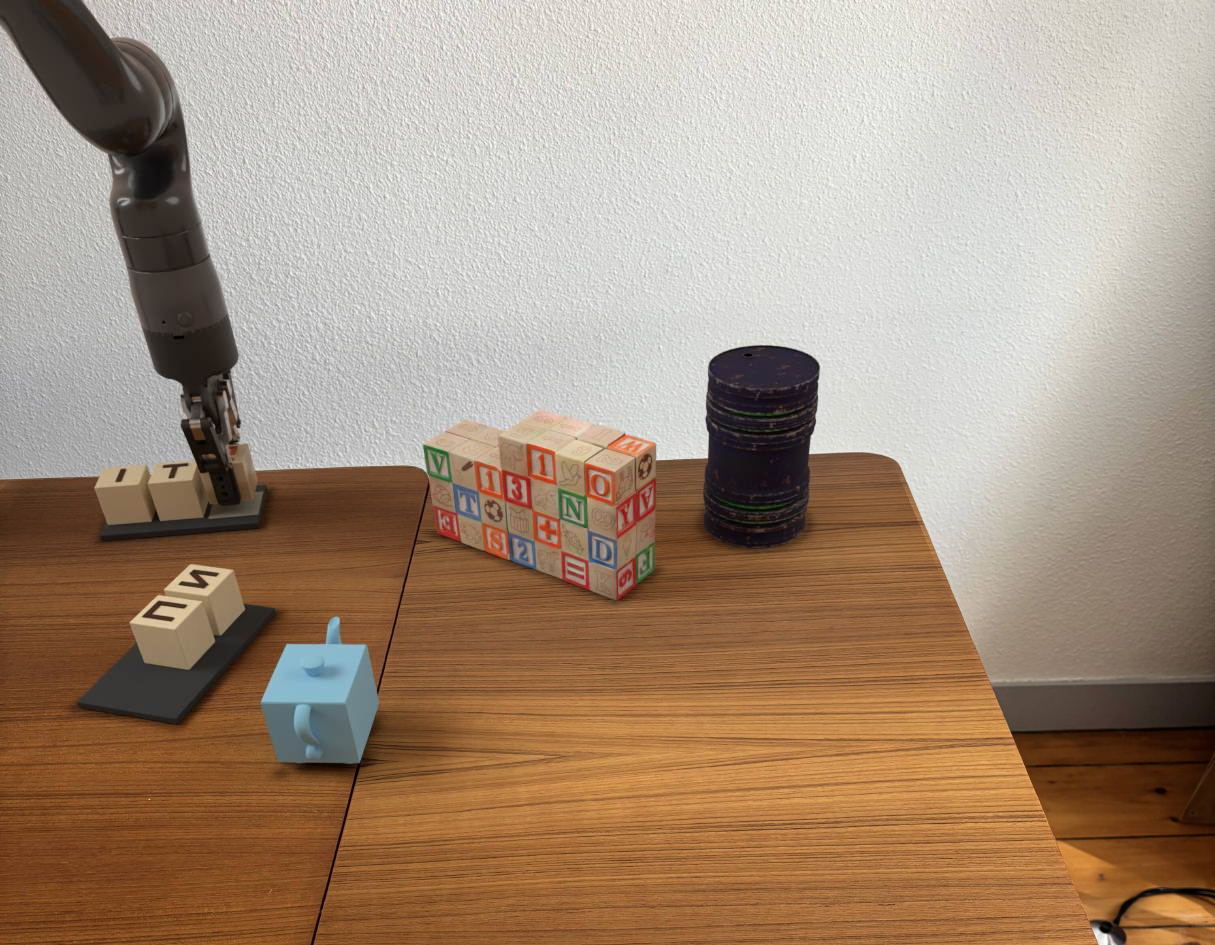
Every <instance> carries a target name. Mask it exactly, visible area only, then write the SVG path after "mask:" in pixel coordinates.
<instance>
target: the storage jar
mask: <svg viewBox="0 0 1215 945" xmlns="http://www.w3.org/2000/svg"><path fill="white" fill-rule="evenodd" d="M820 372H821V365H820V362H819V361H818V360H817V359H816V358H815V357H814V356H812V355H811V354H809V353H807V352H805V351H803V350H799V349H796V348H793V347H787V346H781V345H772V344H771V345H770V344H755V345H753V344H752V345H744V346H738V347H734V348H730V349H728V350H727V349H726V350H724V351H722V352H719V353H718V354H716V355H715V356H713V357H712V358H711V359H710V360H709V362H708V365H707V378H708V380H707V388H706V389H707V392H706V395H705V410H706V415H705V418H704V421H705V427H706V431H707V433H708V440H707V442H708V444H707V445H708V446H707V463H706V465H705V467H704V483H703V489H702V490H703V492H702V494H703V495H702V498H703V508H704V515H703V527H704V529H705V531H706V532H707V533H708V534H709V535H710V536H711V537H712V538H714V539H715V540H717V541H719V542H721V543H723V544H726V545H729V546H733V547H737V548H738V547H739V548H745V549H768V548H774V547H779V546H783V545H786V544H789V543H791V542H792V541H795V540H796V539H797V538H798V537H800V536H801V534H802V533H804V531H805V527H806V513H807V508H808V503H809V499H810V488H811V487H810V482H811V469H810V466H809V460H810V450H811V440H812V435H813V434H814V432H815V427H816V425H817V418H816V414H817V413H818V404H819V394H818V393H819V380H820Z"/></svg>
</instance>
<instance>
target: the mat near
mask: <svg viewBox="0 0 1215 945" xmlns="http://www.w3.org/2000/svg"><path fill="white" fill-rule="evenodd" d="M163 591H164V594H165V595H160V594H158V595H157V596H155V597H154V598H153V599H152V600H151V601H150V602H149V603H148V604H147V605H146V606H145V607H144V608H142V609H141V610H140V612H138V613H137V615H135V616H134V617H133V619H132V620H130V621H129V624H130V628H131V630H132V633H133V636H134V639H135V641H136V643H134V645H133V646H132V647H131V648H129V650H127V651H126V653H125V654H124V655H122V656H121V657H120V658H119V660H117V662H115V663H114V664H113V665H112V666H111V667H110V668H109V669H108V670H107V671H106V672H105V673H104V674H103V675H101V677H100V678H99V679H98V680H97V681H96V682H95V683H94V684H93V685H92V686H91V687H90V688H89V689H88V690H87V691H86V692H85V693H84V694H83V695H82V696H81V697H80V698H79V699H78V700H77V701H76V704H77V706H78V708H79V709H86V710H89V711H90V710H91V711H97V712H102V713H108V714H114V715H120V716H125V717H126V716H127V717H130V718H131V717H132V718H138V719H143V720H149V721H155V722H160V723H166V724H172V725H179V724H180V723H181V722H182V720H183V719H185V717H187V715H188V714H189V713H190V711H192V710H193V708H194V707H195V706H196V705H197V704H198V703H199V701H200V700H201V699H202V698H203V697H204V696H205V695H206V694H207V692H209V691H210V689H211V688H212V687H213V685H214V684H216V682H217V681H218V680H219V679H220V678H221V677H222V675H223V674H224V673H225V672H226V671H227V670H228V669H229V668H230V667H231V665H232V664H233V663H234V662H235V661H236V660H237V659H238V657H240V655H241V654H242V653H243V652H244V651H245V650H246V649H247V647H248V646H249V645H250V644H251V643H252V642H253V641H254V639H255V638H256V637H257V636H258V635H259V634H260V633H261V632H262V630H263V629H264V628H265V627H266V626H267V625H268V624H269V622H271V620H272V619H273V618H275V616H276V615H277V610H276V608H275V607H271V606H263V605H258V604H257V605H256V604H250V603H244V600H243V598H242V597H243V596H242V594H241V590H240V587H239V583H238V580H237V577H236V574H235V570H234V569H230V568H223V567H214V566H208V565H201V564H193V563H191V564H189V565H188V566H187V567H186V568H185V569H184V570H183V571H182V572H180V573H179V574H178V575H177V576H176V577H175V578H174V579H173V580H172V581H171V582H170V583H169V584H168V585H167V586H166V587H165V588H164V589H163Z"/></svg>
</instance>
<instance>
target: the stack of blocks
mask: <svg viewBox="0 0 1215 945" xmlns="http://www.w3.org/2000/svg"><path fill="white" fill-rule="evenodd" d="M422 449H423V456H424V462H425V470H426V474H427V475H428V482H429V483H428V484H429V490H430V496H431V503H432V504H431V505H432V506H433V514H434V524H435V529H436V533H437V534H438V535H441V536H444V537H446V538H449V539H452V540H455V541H458V542H461V544H463V545H467V546H469V547H472V548H475V549H477V550H480V551H483V552H484V551H485V552H486V553H488V554H491V555H494V556H497V557H499V558H502V559H505V560H506V561H512V562H514V563H516V564H519V565H521V566H525V567H526V568H527V567H528V568H531V569H533V570H536V571H538V572H541V573H544V574H547V575H549V576H551V577H554V578H557V579H559V580H563V581H564V582H567V583H569V584H572V585H574V586H577V587H580V588H582V589H585V590H587V591H591V592H592V593H595V594H597V595H600V596H603V597H606V598H608V599H611V600H614V601H618V600H620V599H621V598H622V597H624V596H625V595H626V594H627V593H628V592H630V591H631V590H632V589H633V588H635V587H636V586H637V585H638V584H639V583H640V582H642V581H643V580H645V578H647V577H648V576H650V575H651V574H652V573H653V572H654V571H655V569H656V540H655V539H656V508H657V443H656V442H653V441H650V440H647V439H643V438H640V437H638V436H633V435H630V434H626V431H623V430H619V429H616V428H613V427H609V426H605V425H602V424H595V423H591V422H588V421H584V420H581V419H578V418H573V417H567V416H565V415H561V414H557V413H554V412H550V411H546V410H543V409H538V410H537V411H534V413H532V414H530V415H528V416H527V417H525V418H524V419H522V420H521V421H519V422H518V423H516V424H515V425H513V426H512V427H510V428H508V429H507V430H504V429H501V428H498V427H494V426H489V425H485V424H482V423H480V422H476V421H473V420H469V419H464V420H462V421H460V422H459V423H456V424H455V425H453V426H451V427H450V428H448V429H445V431H444V432H442V433H440V434H439V435H437V436H435V437H433V438H431V439H429V440H428V441H426V442H424V443H422Z"/></svg>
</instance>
